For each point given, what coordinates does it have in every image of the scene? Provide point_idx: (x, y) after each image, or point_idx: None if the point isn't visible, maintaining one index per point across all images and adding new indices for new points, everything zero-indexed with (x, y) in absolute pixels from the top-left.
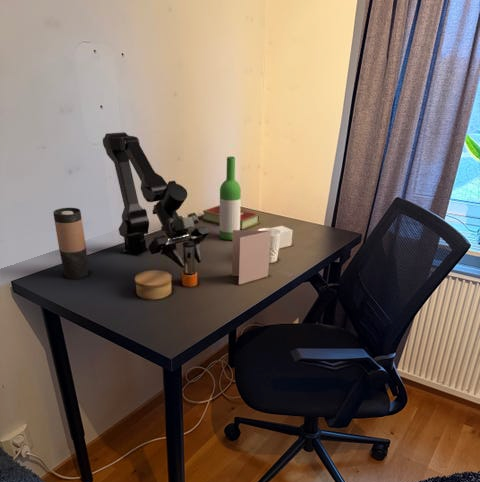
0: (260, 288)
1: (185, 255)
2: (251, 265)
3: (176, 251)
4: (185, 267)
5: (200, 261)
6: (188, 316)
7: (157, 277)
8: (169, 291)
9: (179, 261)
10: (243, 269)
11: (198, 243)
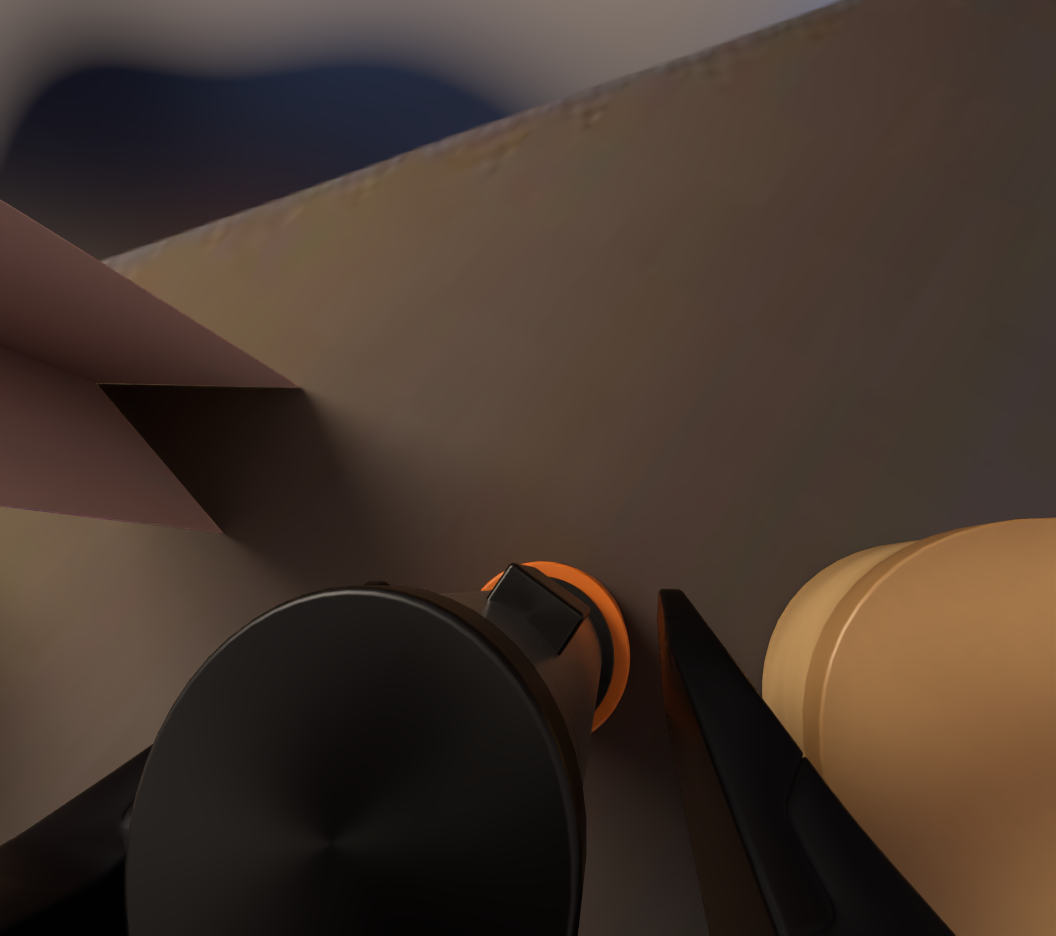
0: (254, 278)
1: (584, 682)
2: (83, 321)
3: (815, 903)
4: (597, 652)
5: (378, 583)
6: (869, 195)
7: (1051, 742)
8: (850, 559)
9: (735, 669)
10: (171, 330)
11: (16, 860)
